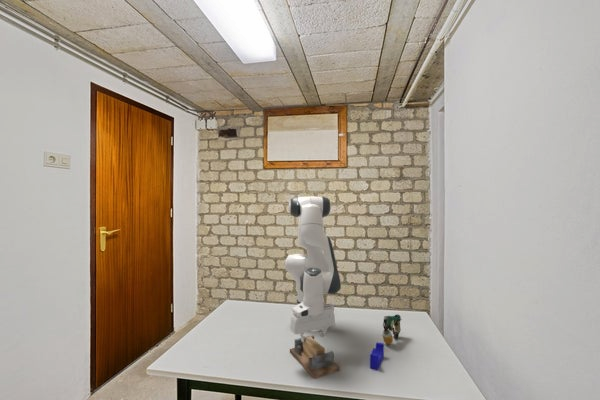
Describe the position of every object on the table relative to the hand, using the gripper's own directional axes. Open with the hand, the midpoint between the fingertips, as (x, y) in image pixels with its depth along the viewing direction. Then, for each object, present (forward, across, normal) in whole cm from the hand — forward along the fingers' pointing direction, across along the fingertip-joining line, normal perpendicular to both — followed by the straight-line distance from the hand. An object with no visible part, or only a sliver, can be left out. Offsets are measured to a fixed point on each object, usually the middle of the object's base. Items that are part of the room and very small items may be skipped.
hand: (313, 338), depth 129 cm
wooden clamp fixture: (+9, 0, +1) cm, 9 cm away
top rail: (+8, 0, +1) cm, 8 cm away
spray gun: (+10, -43, +3) cm, 44 cm away
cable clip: (+10, -23, +13) cm, 28 cm away
